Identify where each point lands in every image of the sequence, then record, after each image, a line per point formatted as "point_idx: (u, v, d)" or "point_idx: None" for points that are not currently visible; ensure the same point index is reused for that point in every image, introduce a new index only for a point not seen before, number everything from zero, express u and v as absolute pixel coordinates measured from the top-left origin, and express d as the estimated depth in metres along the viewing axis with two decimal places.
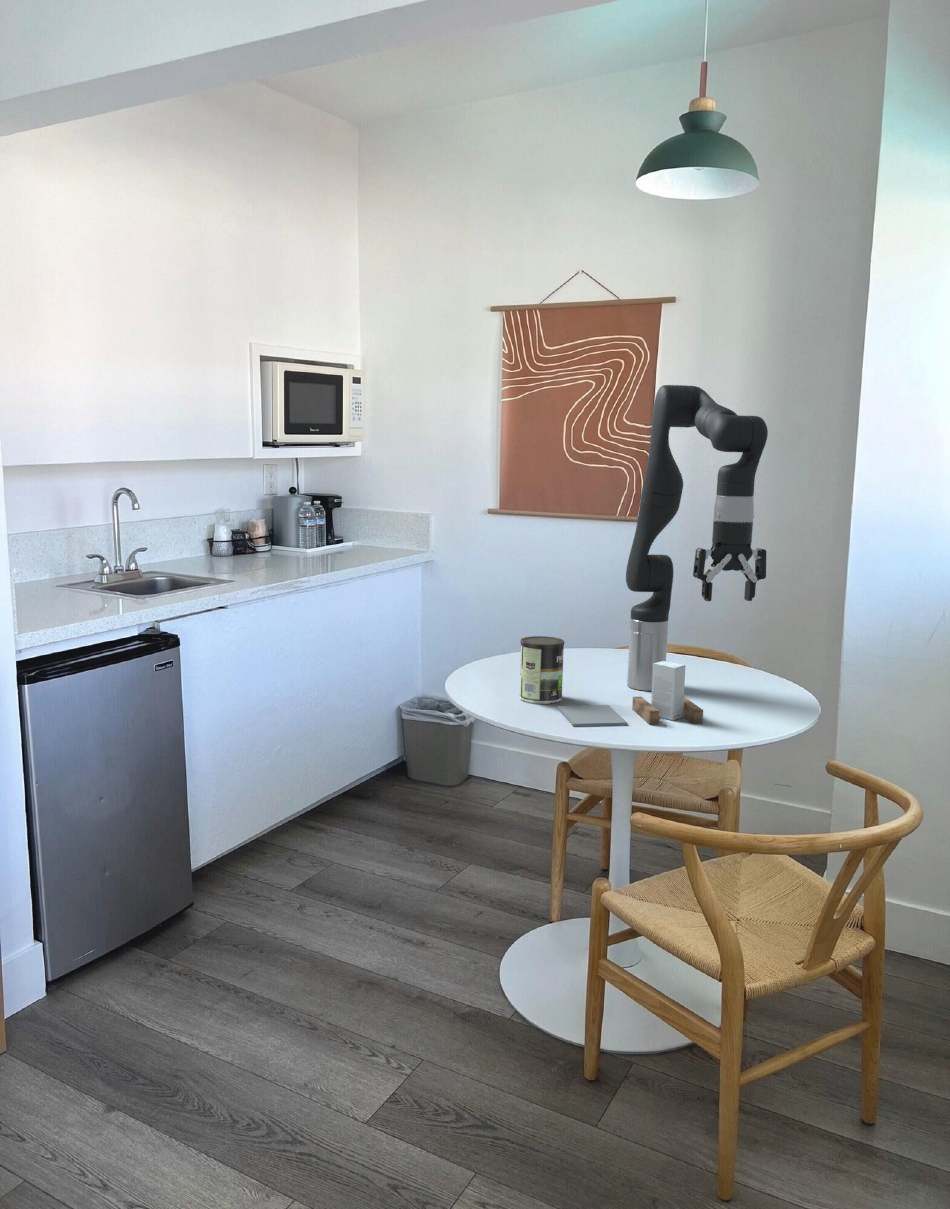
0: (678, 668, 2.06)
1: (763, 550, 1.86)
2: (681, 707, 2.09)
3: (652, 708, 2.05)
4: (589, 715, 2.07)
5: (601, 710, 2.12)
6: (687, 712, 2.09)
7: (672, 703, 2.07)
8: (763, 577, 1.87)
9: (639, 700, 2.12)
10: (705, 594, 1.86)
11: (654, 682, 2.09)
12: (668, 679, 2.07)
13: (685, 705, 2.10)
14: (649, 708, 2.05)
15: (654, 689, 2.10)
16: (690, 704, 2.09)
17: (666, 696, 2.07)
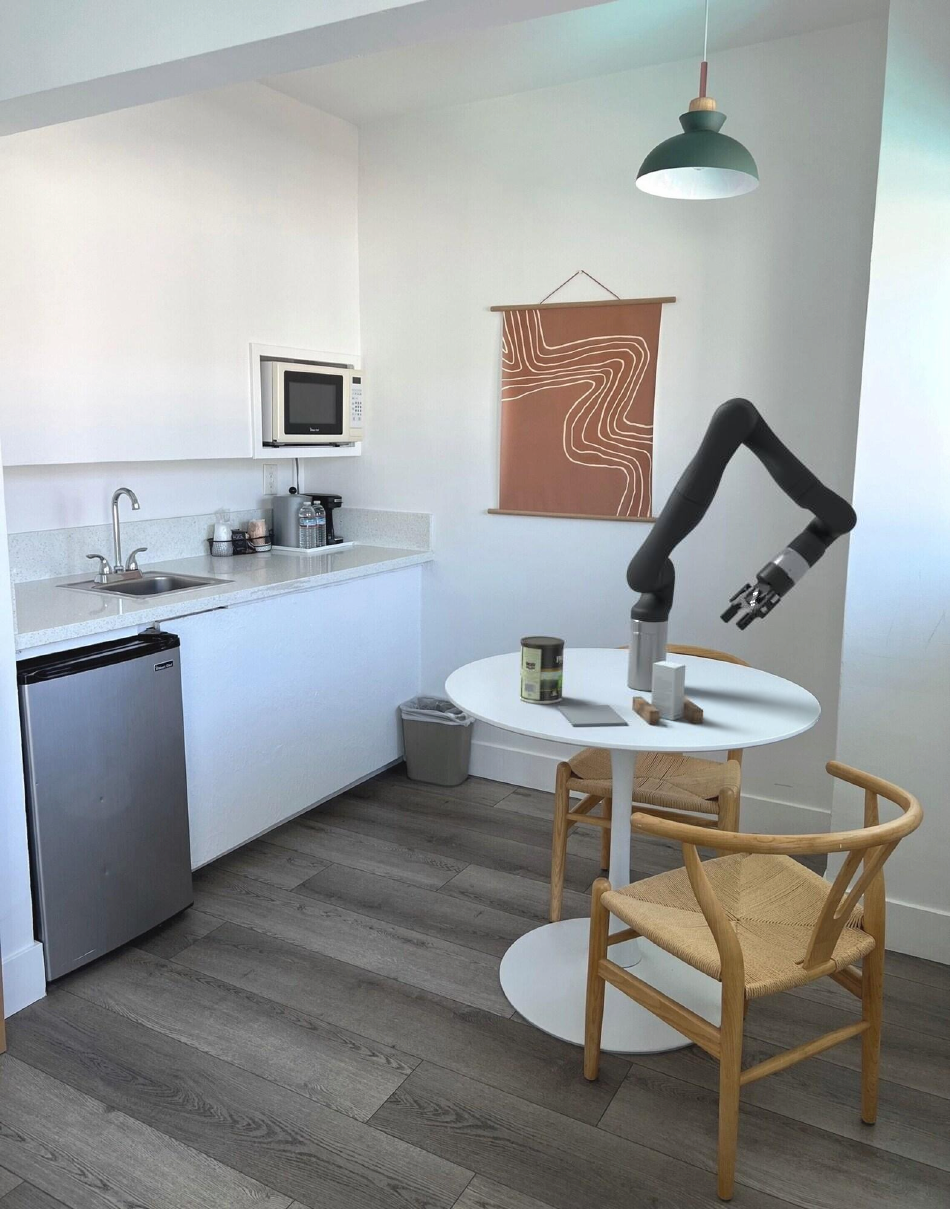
0: (678, 668, 2.06)
1: None
2: (681, 707, 2.09)
3: (652, 708, 2.05)
4: (589, 715, 2.07)
5: (601, 710, 2.12)
6: (687, 712, 2.09)
7: (672, 703, 2.07)
8: None
9: (639, 700, 2.12)
10: None
11: (654, 682, 2.09)
12: (668, 679, 2.07)
13: (685, 705, 2.10)
14: (649, 708, 2.05)
15: (654, 689, 2.10)
16: (690, 704, 2.09)
17: (666, 696, 2.07)
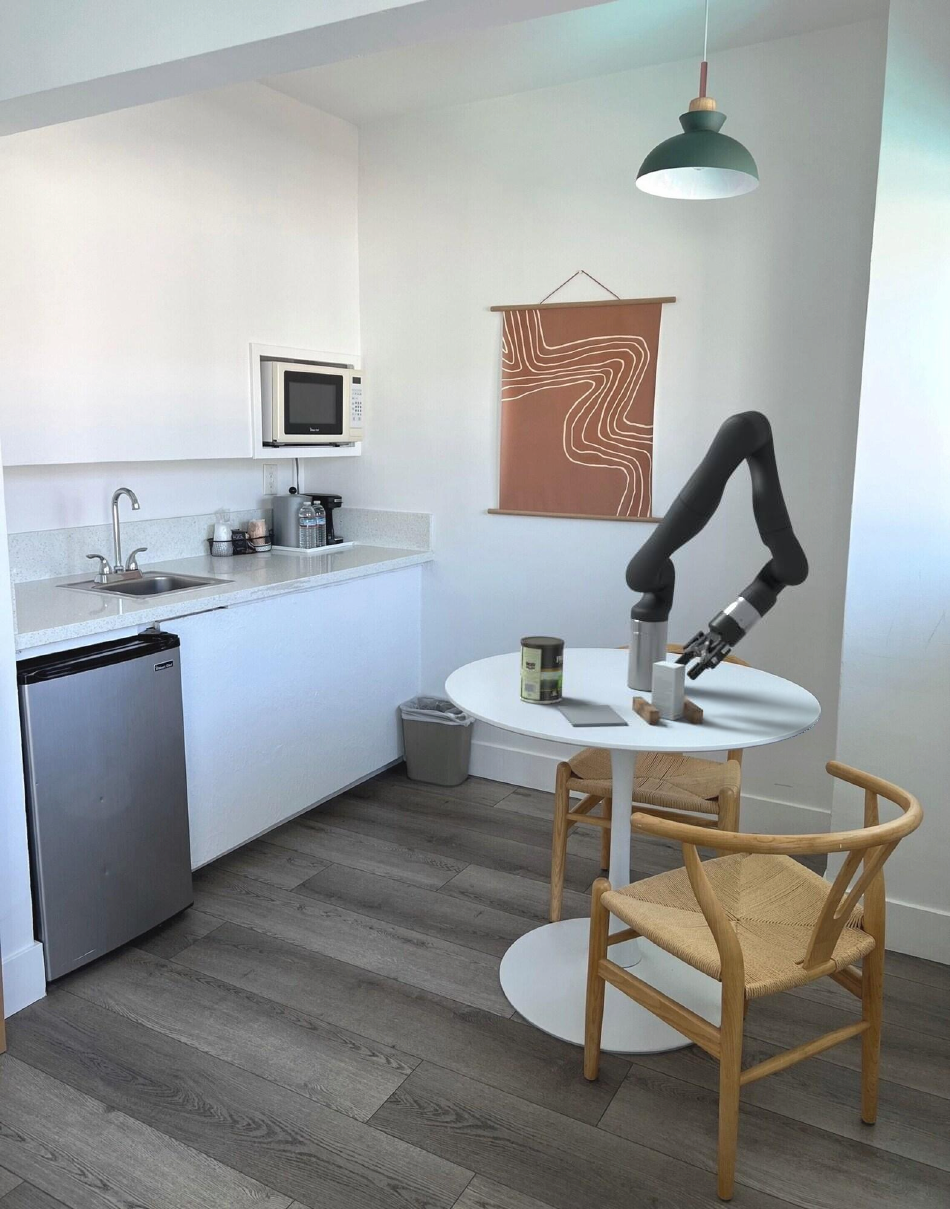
0: (677, 668, 2.06)
1: None
2: (681, 707, 2.09)
3: (652, 708, 2.05)
4: (589, 715, 2.07)
5: (601, 710, 2.12)
6: (687, 712, 2.09)
7: (672, 703, 2.07)
8: None
9: (639, 700, 2.12)
10: None
11: (654, 682, 2.09)
12: (668, 679, 2.07)
13: (685, 705, 2.10)
14: (649, 708, 2.05)
15: (654, 689, 2.10)
16: (690, 704, 2.09)
17: (666, 696, 2.07)
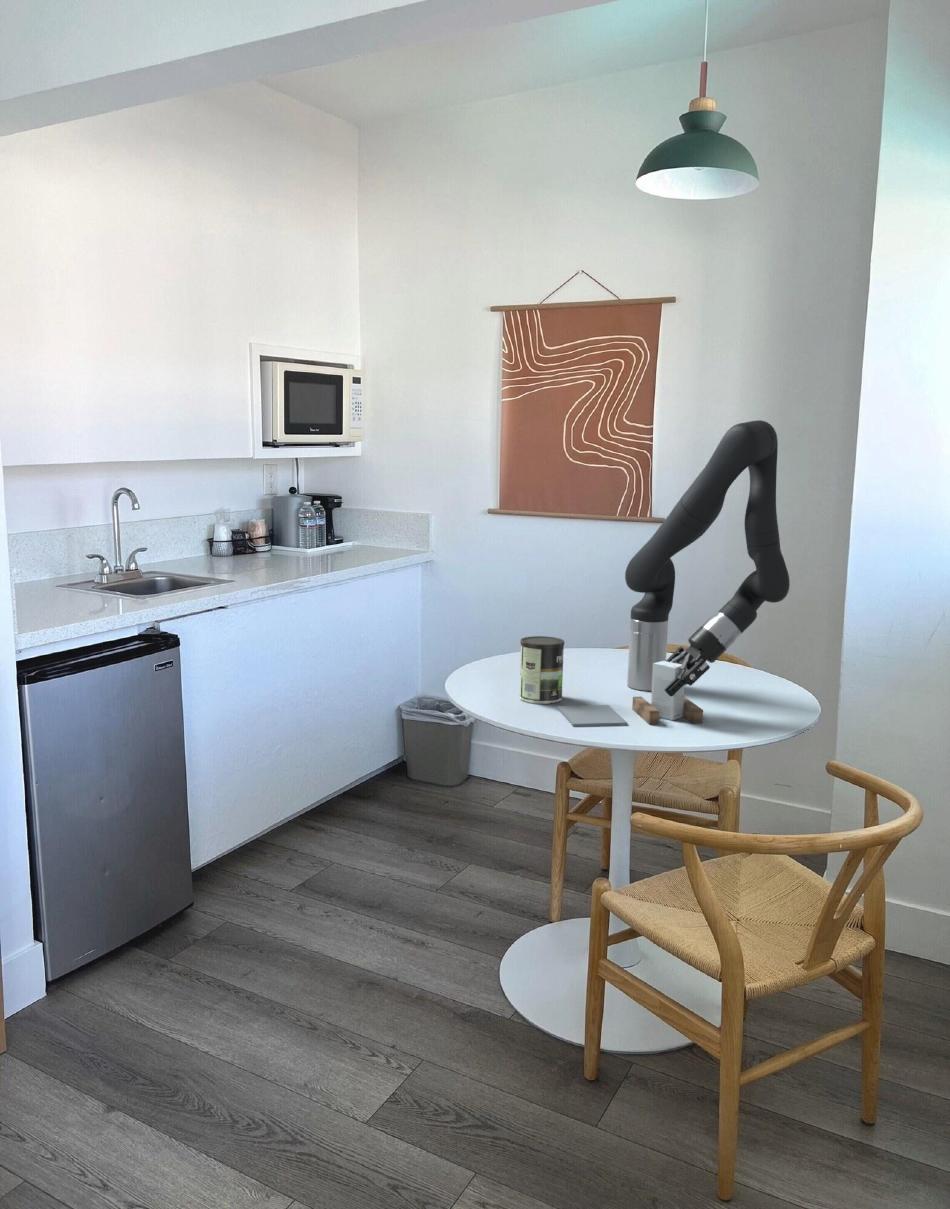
0: (677, 668, 2.06)
1: None
2: (681, 707, 2.09)
3: (652, 708, 2.05)
4: (589, 715, 2.07)
5: (601, 710, 2.12)
6: (687, 712, 2.09)
7: (672, 703, 2.07)
8: None
9: (639, 700, 2.12)
10: None
11: (654, 682, 2.09)
12: (668, 679, 2.07)
13: (685, 705, 2.10)
14: (649, 708, 2.05)
15: (654, 689, 2.10)
16: (690, 704, 2.09)
17: (666, 696, 2.07)
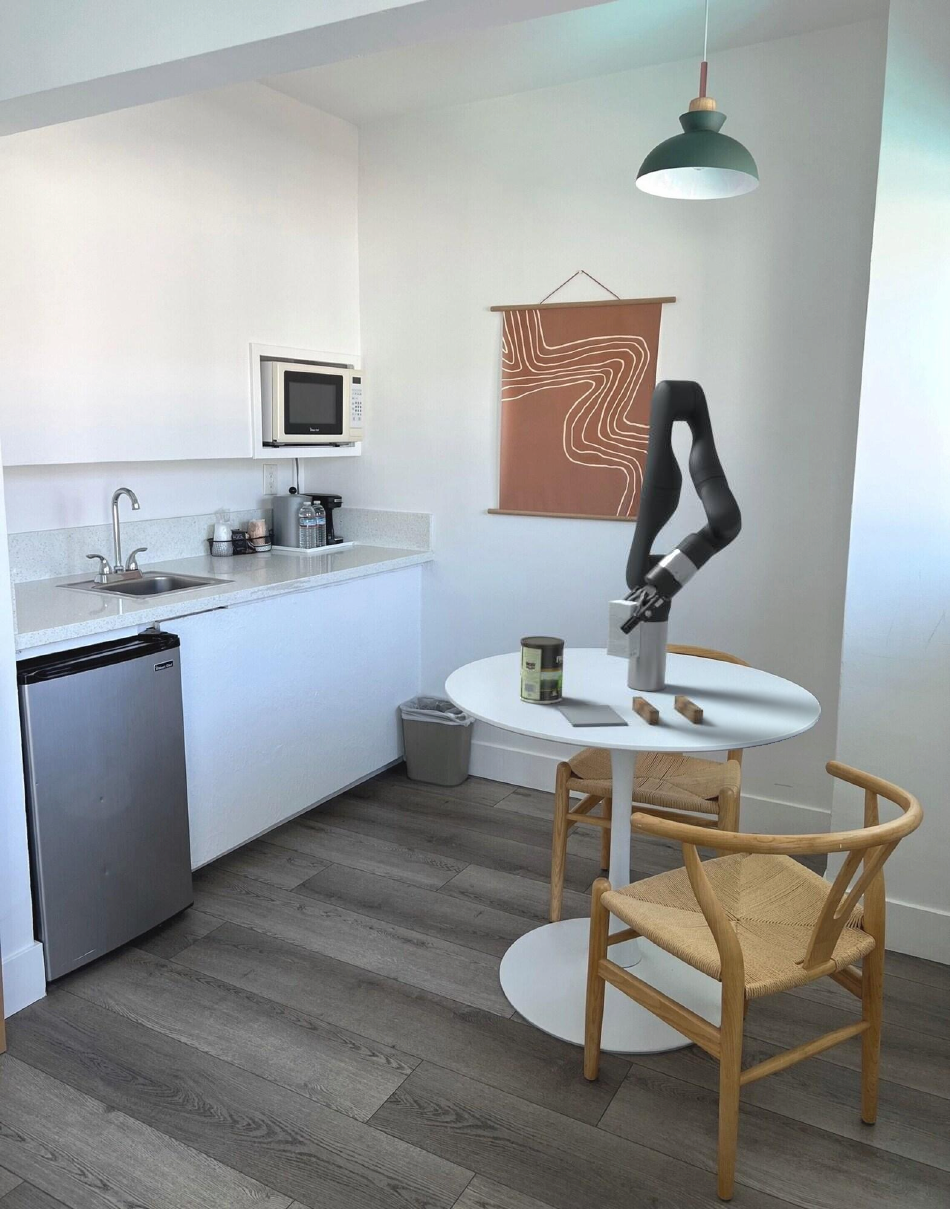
0: (633, 605, 2.02)
1: None
2: (637, 646, 2.05)
3: (652, 708, 2.05)
4: (589, 715, 2.07)
5: (601, 710, 2.12)
6: (687, 712, 2.09)
7: (628, 641, 2.03)
8: None
9: (639, 700, 2.12)
10: None
11: (610, 621, 2.06)
12: (624, 617, 2.03)
13: (685, 705, 2.10)
14: (649, 708, 2.05)
15: (610, 628, 2.06)
16: (690, 704, 2.09)
17: (622, 635, 2.04)
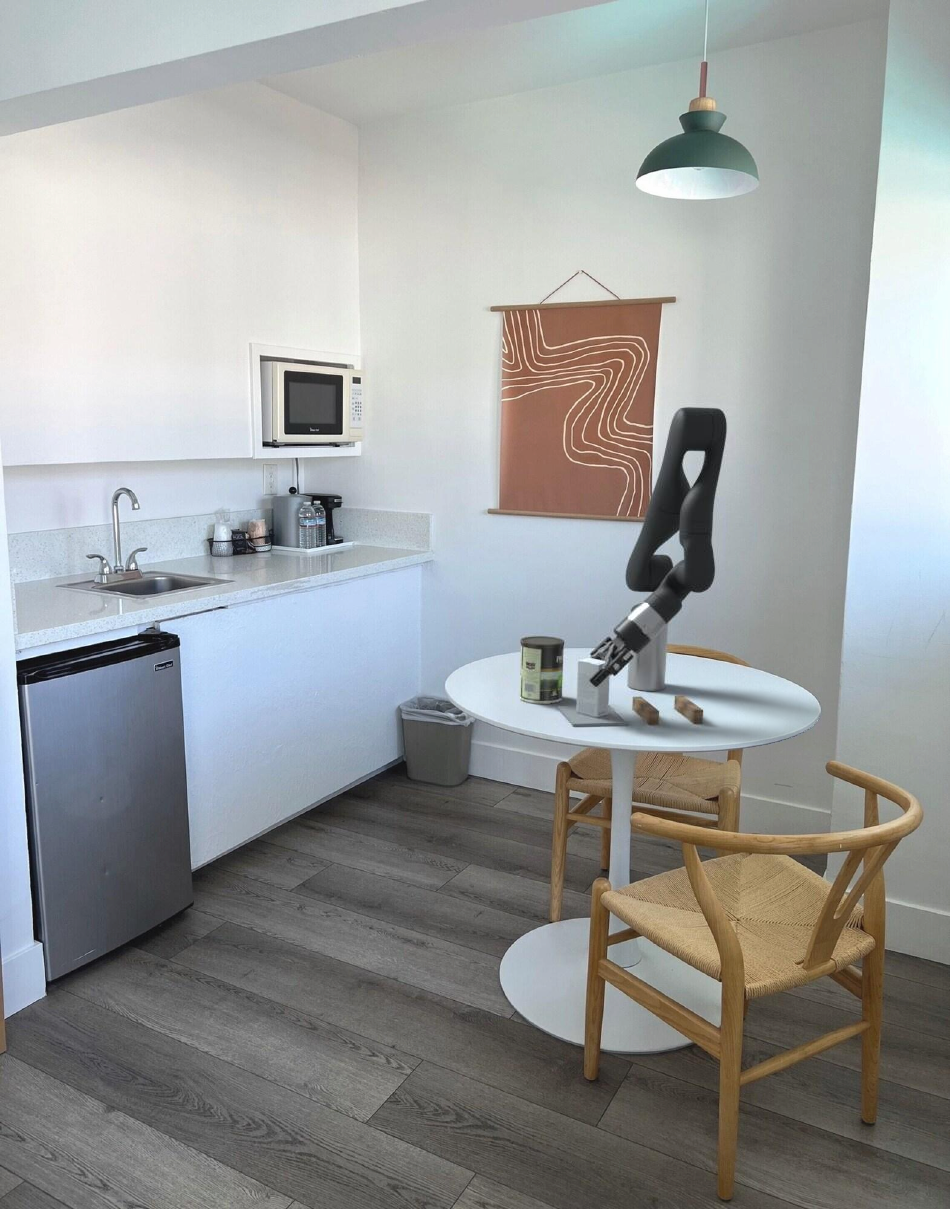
0: (601, 664, 2.04)
1: None
2: (606, 704, 2.07)
3: (652, 708, 2.05)
4: None
5: None
6: (687, 712, 2.09)
7: (596, 700, 2.05)
8: None
9: (639, 700, 2.12)
10: None
11: (579, 679, 2.08)
12: None
13: (685, 705, 2.10)
14: (649, 708, 2.05)
15: (579, 686, 2.08)
16: (690, 704, 2.09)
17: (591, 693, 2.06)
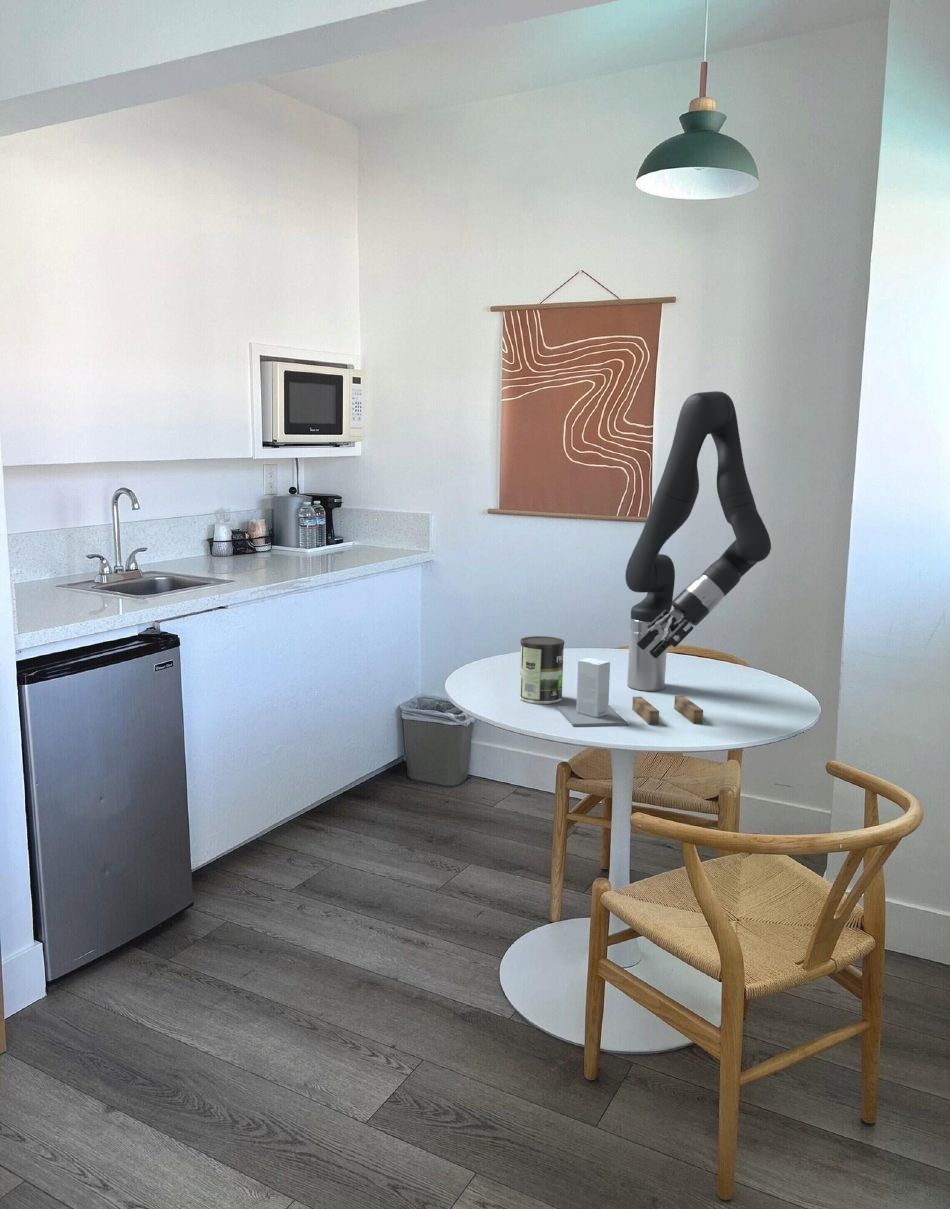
0: (601, 664, 2.04)
1: None
2: (606, 704, 2.07)
3: (652, 708, 2.05)
4: None
5: None
6: (687, 712, 2.09)
7: (596, 700, 2.05)
8: None
9: (639, 700, 2.12)
10: None
11: (579, 679, 2.08)
12: (592, 676, 2.05)
13: (685, 705, 2.10)
14: (649, 708, 2.05)
15: (579, 686, 2.08)
16: (690, 704, 2.09)
17: (591, 693, 2.06)
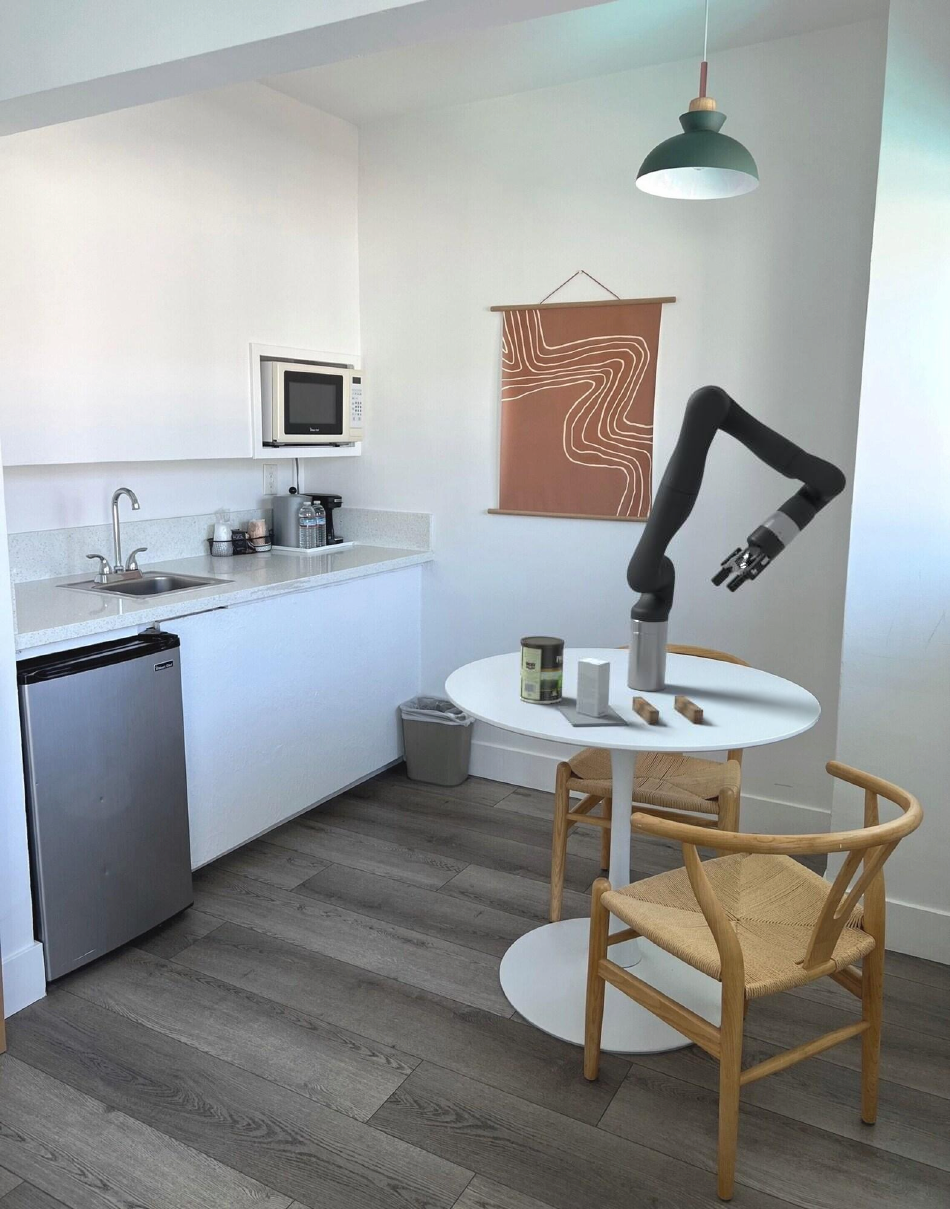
0: (601, 664, 2.04)
1: None
2: (606, 704, 2.07)
3: (652, 708, 2.05)
4: None
5: None
6: (687, 712, 2.09)
7: (596, 700, 2.05)
8: None
9: (639, 700, 2.12)
10: None
11: (579, 679, 2.08)
12: (592, 676, 2.05)
13: (685, 705, 2.10)
14: (649, 708, 2.05)
15: (579, 686, 2.08)
16: (690, 704, 2.09)
17: (591, 693, 2.06)
